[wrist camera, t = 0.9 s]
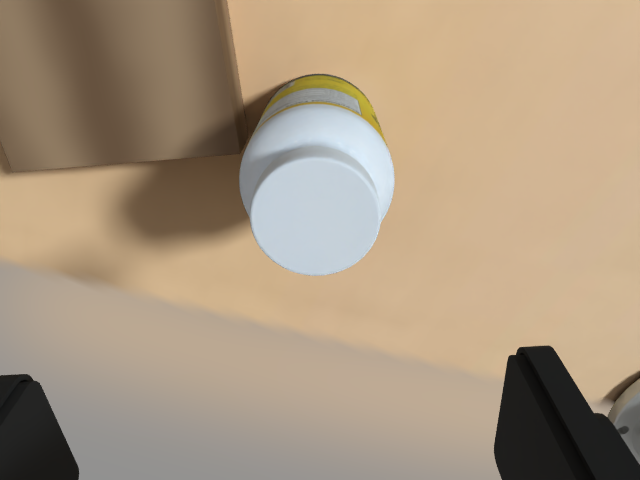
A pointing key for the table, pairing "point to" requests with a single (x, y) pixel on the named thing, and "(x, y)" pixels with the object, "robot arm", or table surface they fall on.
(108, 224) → the table surface
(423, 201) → the table surface
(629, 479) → the robot arm
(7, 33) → the walnut block
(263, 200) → the pill bottle
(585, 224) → the table surface
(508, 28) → the table surface
